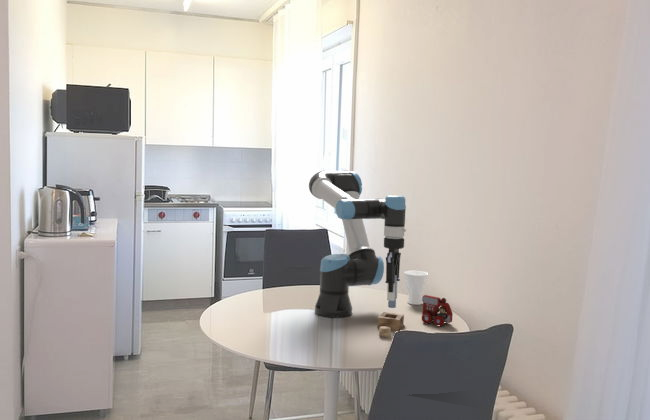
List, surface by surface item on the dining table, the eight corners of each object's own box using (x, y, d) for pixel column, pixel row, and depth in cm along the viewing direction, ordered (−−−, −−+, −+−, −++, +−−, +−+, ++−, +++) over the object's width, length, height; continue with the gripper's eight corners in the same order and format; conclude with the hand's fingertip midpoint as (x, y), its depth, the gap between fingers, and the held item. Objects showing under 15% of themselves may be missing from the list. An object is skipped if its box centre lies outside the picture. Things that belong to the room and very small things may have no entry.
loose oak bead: (377, 337, 202) (378, 328, 202) (380, 333, 206) (381, 325, 205) (388, 338, 201) (389, 330, 200) (391, 335, 204) (391, 327, 204)
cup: (430, 302, 251) (432, 272, 250) (421, 307, 242) (422, 276, 241) (408, 298, 257) (410, 269, 256) (398, 303, 248) (400, 273, 247)
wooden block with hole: (377, 327, 212) (377, 317, 212) (383, 322, 220) (383, 312, 219) (398, 330, 210) (398, 320, 209) (403, 324, 217) (403, 314, 217)
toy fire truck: (447, 328, 214) (448, 301, 213) (417, 322, 221) (418, 296, 220) (454, 324, 220) (456, 298, 219) (425, 318, 227) (426, 292, 226)
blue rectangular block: (387, 307, 213) (388, 275, 212) (389, 305, 215) (390, 274, 214) (394, 308, 212) (395, 276, 211) (396, 306, 214) (397, 275, 213)
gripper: (398, 240, 203) (396, 305, 205) (408, 235, 217) (406, 295, 219) (378, 239, 205) (376, 302, 207) (389, 234, 220) (387, 293, 222)
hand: (392, 299), depth 213 cm, fingers closed on blue rectangular block, 3 cm apart
